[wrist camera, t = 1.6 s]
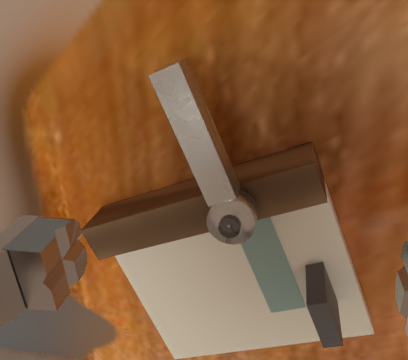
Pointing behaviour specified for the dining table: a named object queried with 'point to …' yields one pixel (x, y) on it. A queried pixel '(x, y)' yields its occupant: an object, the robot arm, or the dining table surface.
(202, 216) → the jamb
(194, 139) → the swing bar
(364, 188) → the dining table surface
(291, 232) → the door leaf
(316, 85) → the dining table surface
